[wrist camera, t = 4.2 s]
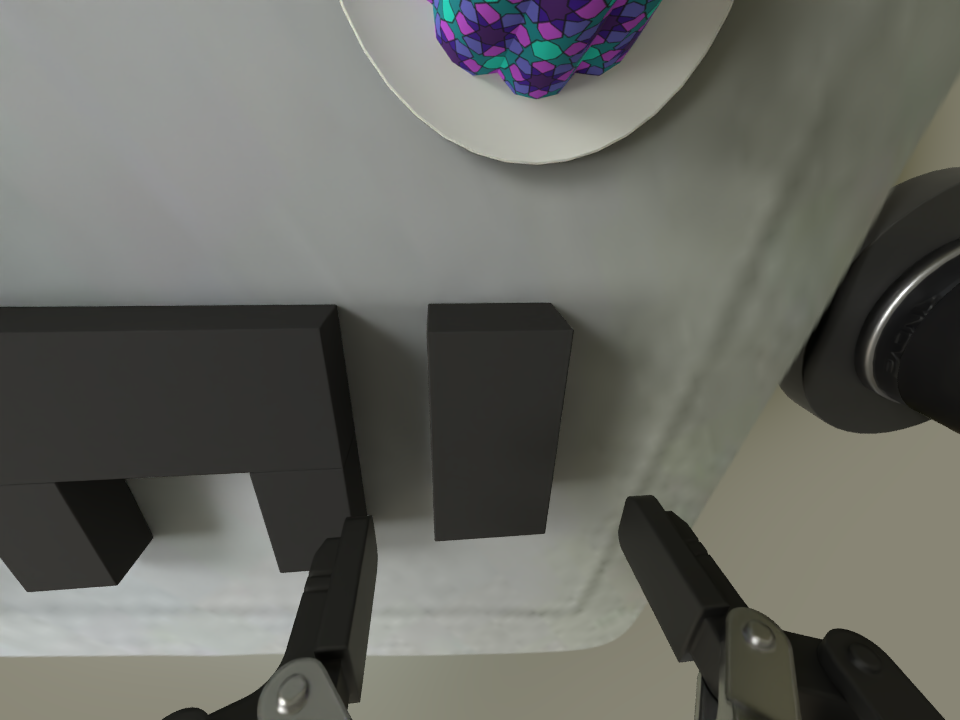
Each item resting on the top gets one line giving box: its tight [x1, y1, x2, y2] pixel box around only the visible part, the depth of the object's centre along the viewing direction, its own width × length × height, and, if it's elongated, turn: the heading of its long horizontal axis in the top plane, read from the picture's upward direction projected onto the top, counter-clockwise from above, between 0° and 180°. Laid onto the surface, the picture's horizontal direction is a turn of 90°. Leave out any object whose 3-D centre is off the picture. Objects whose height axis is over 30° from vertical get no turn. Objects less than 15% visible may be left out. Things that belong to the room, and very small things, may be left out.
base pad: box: [0, 305, 367, 592], centre depth 16 cm, size 14×12×2 cm
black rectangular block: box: [427, 303, 574, 541], centre depth 17 cm, size 5×10×3 cm, turn 179°
